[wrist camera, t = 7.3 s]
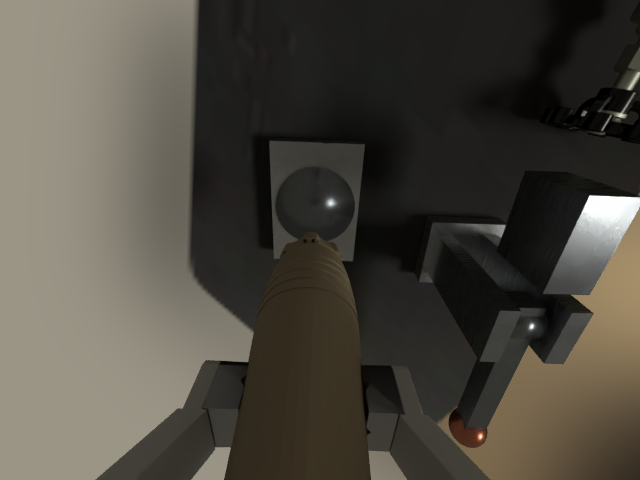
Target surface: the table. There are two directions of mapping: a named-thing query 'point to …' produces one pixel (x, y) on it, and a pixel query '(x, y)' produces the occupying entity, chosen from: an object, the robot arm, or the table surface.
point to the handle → (303, 375)
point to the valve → (608, 101)
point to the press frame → (435, 250)
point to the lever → (544, 273)
